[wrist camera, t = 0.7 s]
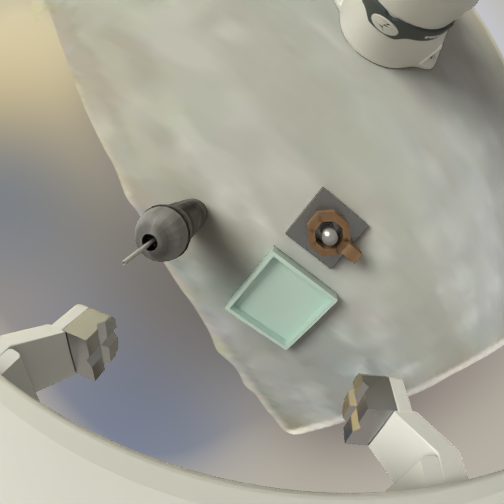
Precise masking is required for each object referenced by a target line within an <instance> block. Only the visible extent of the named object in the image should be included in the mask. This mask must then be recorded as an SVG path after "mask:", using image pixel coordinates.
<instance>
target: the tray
mask: <svg viewBox="0 0 504 504" xmlns="http://www.w3.org/2000/svg"><path fill="white" fill-rule="evenodd" d="M337 301H338V298H337V293H336V292H335V291H333V290H332V289H331V288H329V287H328V286H327V285H325V284H324V283H323V282H322V281H320V280H319V279H318V278H316V277H315V276H314V275H312V274H311V273H310V272H308V271H307V270H306V269H304V268H303V267H302V266H301V265H299V264H298V263H297V262H295V261H294V260H293V259H291V258H290V257H289V256H287V255H286V254H285V253H283V252H282V251H281V250H279V249H278V248H277V247H275V246H273V248H272V249H271V250H270V251H269V252H268V254H267V255H266V256H265V257H264V259H263V260H262V261H261V262H260V263H259V265H258V266H257V267H256V268H255V269H254V271H253V272H252V273H251V274H250V276H249V277H248V278H247V279H246V280H245V282H244V283H243V284H242V285H241V286H240V288H239V289H238V290H237V291H236V293H235V294H234V295H233V296H232V297H231V299H230V300H229V301H228V303H227V305H226V307H225V309H226V310H227V311H229V312H230V313H231V314H233V315H234V316H236V317H237V318H239V319H240V320H242V321H243V322H244V323H246V324H247V325H249V326H250V327H252V328H253V329H255V330H256V331H258V332H259V333H261V334H262V335H264V336H265V337H267V338H268V339H270V340H271V341H273V342H274V343H276V344H277V345H279V346H280V347H282V348H283V349H285V350H287V349H288V348H289V347H290V346H291V345H293V344H294V343H295V342H296V341H297V340H298V339H299V338H300V337H301V336H302V335H303V334H304V333H305V332H306V331H307V330H308V329H310V328H311V327H312V326H313V325H314V324H315V323H316V322H317V321H318V320H319V319H320V318H321V317H322V316H323V315H324V314H325V313H326V312H327V311H328V310H329V309H330V308H331V307H332V306H333V305H334V304H335V303H336V302H337Z"/></svg>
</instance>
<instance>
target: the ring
mask: <svg viewBox="0 0 504 504" xmlns="http://www.w3.org/2000/svg"><path fill="white" fill-rule="evenodd" d="M329 221H334V222H336V223H337V224H338V225H339V226H340V228H341V234H340V235H339V236H338V240H337V242H336V243H335V244H334V245H331V246H329V245H326V244H325V243H323V242H322V241H320V240H319V239H318V238H317V237H315V230H316V229H317V228H318V227H319V225H320V224H321V223H322V222H329ZM307 231H308V240H309V246H310V247H311V248H313V249H314V250H315V251H316V252H318V253H319V254H320V255H321V256H330V255H339V254H340V253H342V254H343V255H344V256H345V257H347V258H348V259H349V260H350V261H351V262H353V263H355V262H356V261H357V260H358V259H359V258H360V257H361V256H362V253H361V251H360V249H359V248H358V247H357V246H356V245H355V244H354V243H352V242H351V241H350V225H349V223H348V221H347V220H346V219H345V218H344V217H343V216H341V215H340V214H339V213H338V212H337V211H335V210H334V209H331V210H321V211H317V212H316V213H315V214H314V216H313V217H312V218H311V219H310V220H309V222H308V223H307Z"/></svg>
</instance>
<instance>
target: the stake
mask: <svg viewBox="0 0 504 504" xmlns="http://www.w3.org/2000/svg"><path fill="white" fill-rule="evenodd" d="M331 209H334V210H335V211H337V212H338V213H339V214H340V215H341V216H343V217H344V218H345V219H346V220H347V221H348V223H349V225H350V241H351V242H352V243H354V242H355V241H356V239H357V238H358V237H359V236H360V235H361V234H362V232H363V231H364V230H365V229H366V228H367V227H368V225H367V223H365V222H364V221H363V220H362V219H361V218H360V217H358V216H357V215H356V214H355V213H354V212H353V211H351V210H350V209H349V208H348V207H347V206H346V205H344V204H343V203H342V202H341V201H340V200H338V199H337V198H336V197H335V196H334V195H332V194H331V193H330V192H329V191H327V190H326V189H325V188H324V187H322V188H321V189H320V191H319V192H318V193H317V194H316V196H315V197H314V198H313V199H312V201H311V202H310V203H309V204H308V205H307V207H306V208H305V209H304V210H303V212H302V213H301V214H300V215H299V217H298V218H297V219H296V220H295V222H294V223H293V224H292V225H291V226H290V228H289V229H288V230H287V231H286V235H288V236H289V237H290V238H292V239H293V240H294V241H296V242H297V243H298V244H299V245H301V246H302V247H303V248H305V249H306V250H307V251H309V252H310V253H311V254H312V255H314V256H315V257H316V258H318V259H319V260H320V261H321V262H323V263H324V264H325V265H326V266H328V267H329V268H330V269H331V268H332V266H333V265H334V264H335V263H336V262H337V261H338V260H339V259H340V258H341V256H342V255H343V254H342V253H340V254H339V255H330V256H321V255H320V254H319V253H318V252H316V251H315V250H314V249H313V248H311V247H310V246H309V240H308V231H307V223H308V222H309V220H310V219H311V218H312V217H313V216H314V214H315V213H316V212H317V211H321V210H331ZM340 234H341V228H340V226H339V225H338V224H337V223H336V222H334V221H329V222H322V223H321V224H320V225H319V227H318V228H317V229H316V230H315V237H317V238H318V239H319V240H320V241H322V242H323V243H325V244H326V245H329V246H331V245H334V244H335V243H336V242H337V240H338V236H339V235H340Z"/></svg>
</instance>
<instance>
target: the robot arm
mask: <svg viewBox="0 0 504 504" xmlns="http://www.w3.org/2000/svg"><path fill="white" fill-rule="evenodd" d="M334 2H335V4H336V5H337V7H338V9H339V12H340V24H341V28H342V31H343V33H344V36H345V37H346V39H347V41H348V42H349V43H350V45H351V46H352V47H353V48H354V49H355V50H356V51H357V52H358V53H359V54H361V55H362V56H363V57H365V58H366V59H368V60H370V61H371V62H374V63H376V64H378V65H381V66H384V67H389V68H405V67H412V66H414V67H418V68H422V69H428V70H429V69H432V68H433V67H434V65H435V63H436V60H437V58H438V55H439V53H440V50H441V47H442V45H443V42H444V39H445V36H446V34H447V31H448V30H449V28H450V27H451V26H452V25H453V24H454V22H455V19H457V18H458V17H460V16H461V15H462V14H464V13H465V12H467V11H468V10H469V9H471V8H472V7H474V6H475V5H476V4H477V2H478V0H334ZM429 57H431V59H430V58H429ZM115 328H116V320H115V318H114V317H112V316H110V315H107V314H104V313H102V312H99V311H96V310H94V309H91V308H88V307H86V306H84V305H81V304H78V305H75V306H74V307H73V308H72V309H71V310H69V311H68V312H67V313H66V314H65V315H63V316H62V317H61V318H60V319H58V320H57V321H56V322H55V323H54V324H53V325H49V324H47V325H43V326H39V327H34V328H30V329H26V330H22V331H18V332H14V333H9V334H5V335H1V336H0V504H504V470H501V471H498V472H495V473H491V474H488V475H484V476H480V477H476V478H472V479H468V476H467V472H466V470H465V466H464V463H463V459H462V456H461V453H460V451H459V450H458V449H457V448H456V447H455V446H454V445H452V444H451V443H450V442H449V441H448V440H447V439H446V438H445V437H444V436H443V435H442V434H440V433H439V432H438V431H437V430H436V429H435V428H434V427H433V426H431V424H429V423H428V422H427V421H426V420H425V419H424V418H423V417H421V415H420V414H418V413H417V412H415V411H412V408H411V405H410V402H409V398H408V395H407V392H406V389H405V386H404V383H403V380H402V378H401V377H396V376H379V375H369V374H360V373H359V374H358V375H357V376H356V377H355V379H354V381H353V386H354V388H353V389H351V390H349V391H348V393H347V395H346V397H345V399H344V403H343V410H342V414H343V418H344V419H345V421H346V422H347V423H346V425H345V426H344V440H345V443H346V444H358V445H369V448H370V449H371V451H372V452H373V454H374V455H375V457H376V458H377V459H378V461H379V462H380V464H381V465H382V466H383V468H384V469H385V471H386V472H387V474H388V475H389V476H390V478H391V479H392V481H393V482H394V485H392V486H391V487H390V488H389V489H387V490H386V491H385V492H373V493H327V492H310V491H298V490H288V489H280V488H272V487H266V486H259V485H253V484H247V483H242V482H237V481H233V480H228V479H224V478H219V477H215V476H211V475H207V474H203V473H199V472H196V471H192V470H189V469H185V468H182V467H178V466H175V465H173V464H169V463H166V462H163V461H161V460H157V459H155V458H152V457H149V456H147V455H144V454H141V453H139V452H136V451H134V450H131V449H129V448H126V447H124V446H122V445H119V444H117V443H115V442H113V441H110V440H108V439H106V438H104V437H102V436H100V435H98V434H96V433H94V432H91V431H90V430H88V429H86V428H84V427H82V426H80V425H78V424H76V423H74V422H72V421H71V420H69V419H67V418H65V417H63V416H62V415H60V414H58V413H56V412H55V411H53V410H52V409H50V408H48V407H46V406H45V405H43V404H42V403H40V401H39V399H38V397H37V395H36V392H37V391H39V390H42V389H44V388H46V387H48V386H50V385H53V384H55V383H57V382H59V381H61V380H63V379H66V378H68V377H70V376H72V375H75V374H76V373H78V374H80V375H82V376H84V377H87V378H89V379H92V380H94V381H96V380H97V378H98V377H99V376H100V375H101V373H102V372H103V371H104V369H105V368H104V364H106V363H108V362H111V361H112V360H113V358H114V357H115V355H116V352H117V350H118V337H117V335H116V334H115V332H114V330H115Z"/></svg>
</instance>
